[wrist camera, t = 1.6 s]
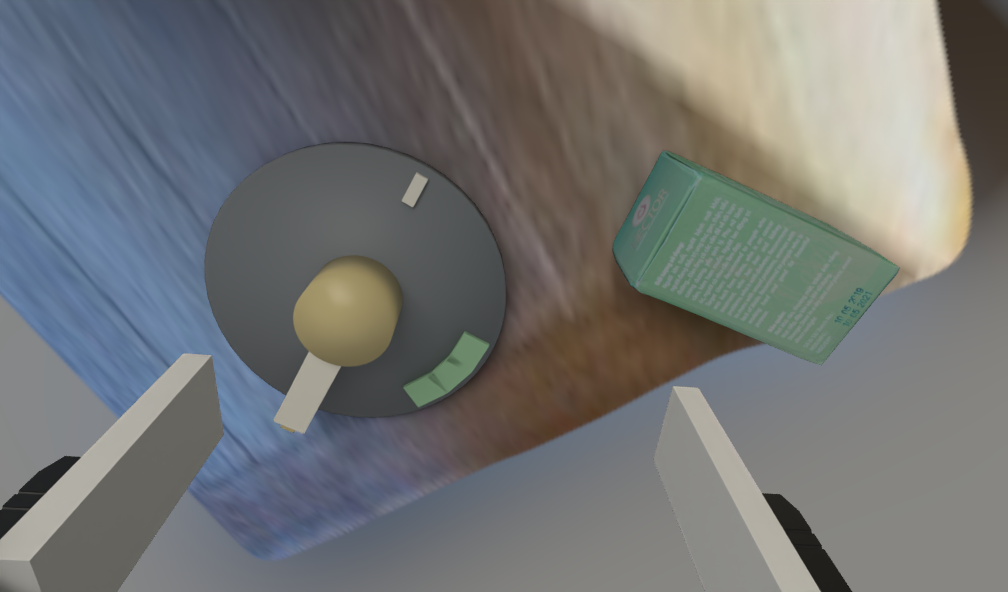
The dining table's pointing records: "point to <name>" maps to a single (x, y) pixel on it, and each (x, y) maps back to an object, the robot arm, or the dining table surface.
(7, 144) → the dining table surface
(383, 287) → the round-headed handle
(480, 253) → the plate
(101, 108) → the dining table surface
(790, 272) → the box
